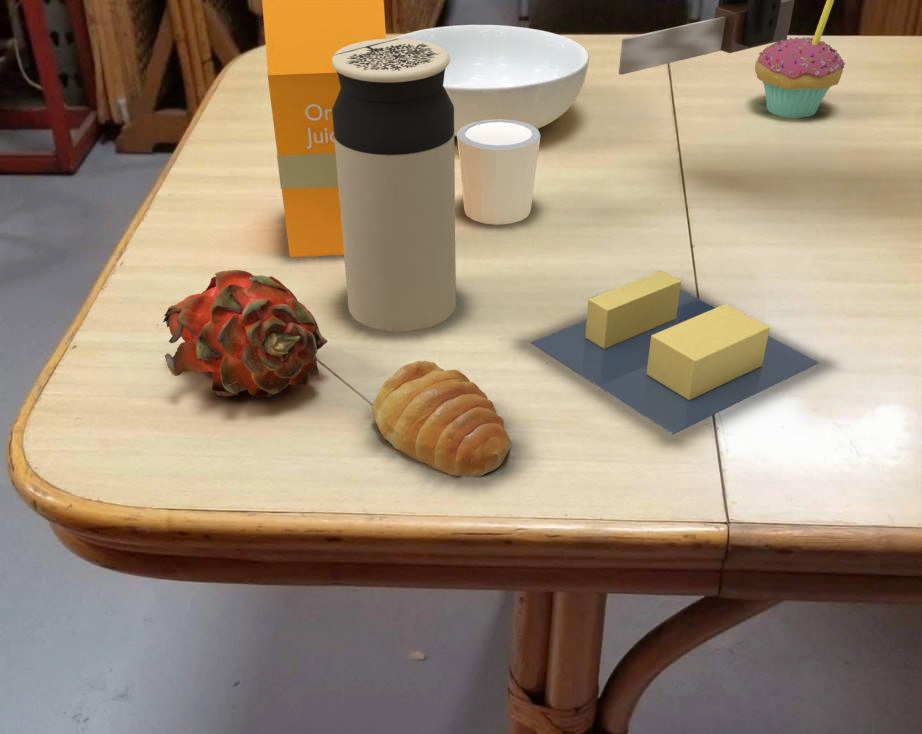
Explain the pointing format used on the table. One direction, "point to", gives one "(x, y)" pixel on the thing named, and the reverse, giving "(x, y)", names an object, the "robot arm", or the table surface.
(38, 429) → the table surface
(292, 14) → the orange juice
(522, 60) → the serving bowl
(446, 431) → the pastry
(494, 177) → the cup of milk
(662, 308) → the butter slice
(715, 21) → the knife
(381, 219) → the travel mug
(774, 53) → the cupcake
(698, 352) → the butter block
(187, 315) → the dragon fruit
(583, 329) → the butter dish
